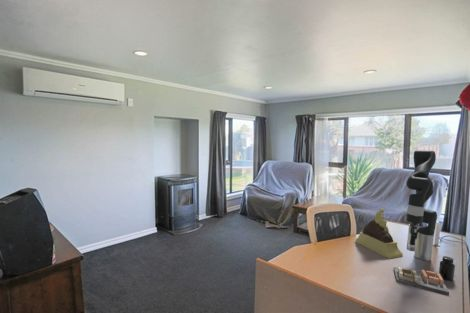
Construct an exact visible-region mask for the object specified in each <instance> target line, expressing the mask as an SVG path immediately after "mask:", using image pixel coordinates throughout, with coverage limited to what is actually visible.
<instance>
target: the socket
mask: <svg viewBox="0 0 470 313" xmlns="http://www.w3.org/2000/svg"><path fill="white" fill-rule="evenodd" d="M420 273H421V276H422V278H423V280H424V281H425V282H427V279H428V282H429V283H433V284H437V285H438V283H439V285H441V286H443V282H444V283H445V280H444V279H443V278H442V277H441V275H440V273H439V272H435V271H430V270H425V269H421V272H420ZM435 276H436V278H435ZM428 277H429V278H428Z"/></svg>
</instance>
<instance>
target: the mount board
mask: <svg viewBox="0 0 470 313" xmlns="http://www.w3.org/2000/svg"><path fill="white" fill-rule="evenodd" d="M393 272H394V275H395V281H396V282H397V283H400V284H404V285H408V286H412V287H415V288H420V289H423V290H428V291H431V292H436V293H439V294H444V295H448V296H449V295H450V291H449V290H448V288H447V286H446V284H445V281H444V282H443V286H441V285H439V283H438V285H437V284H433V283H429V282H428V279H427V282H425V281H424V280H423V278H422V276H421V272H418V271H416V270H414V269H410V268H404V267H400V266H398V267H397V266H394V267H393ZM428 278H429V277H428ZM435 278H436V275H435Z"/></svg>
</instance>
